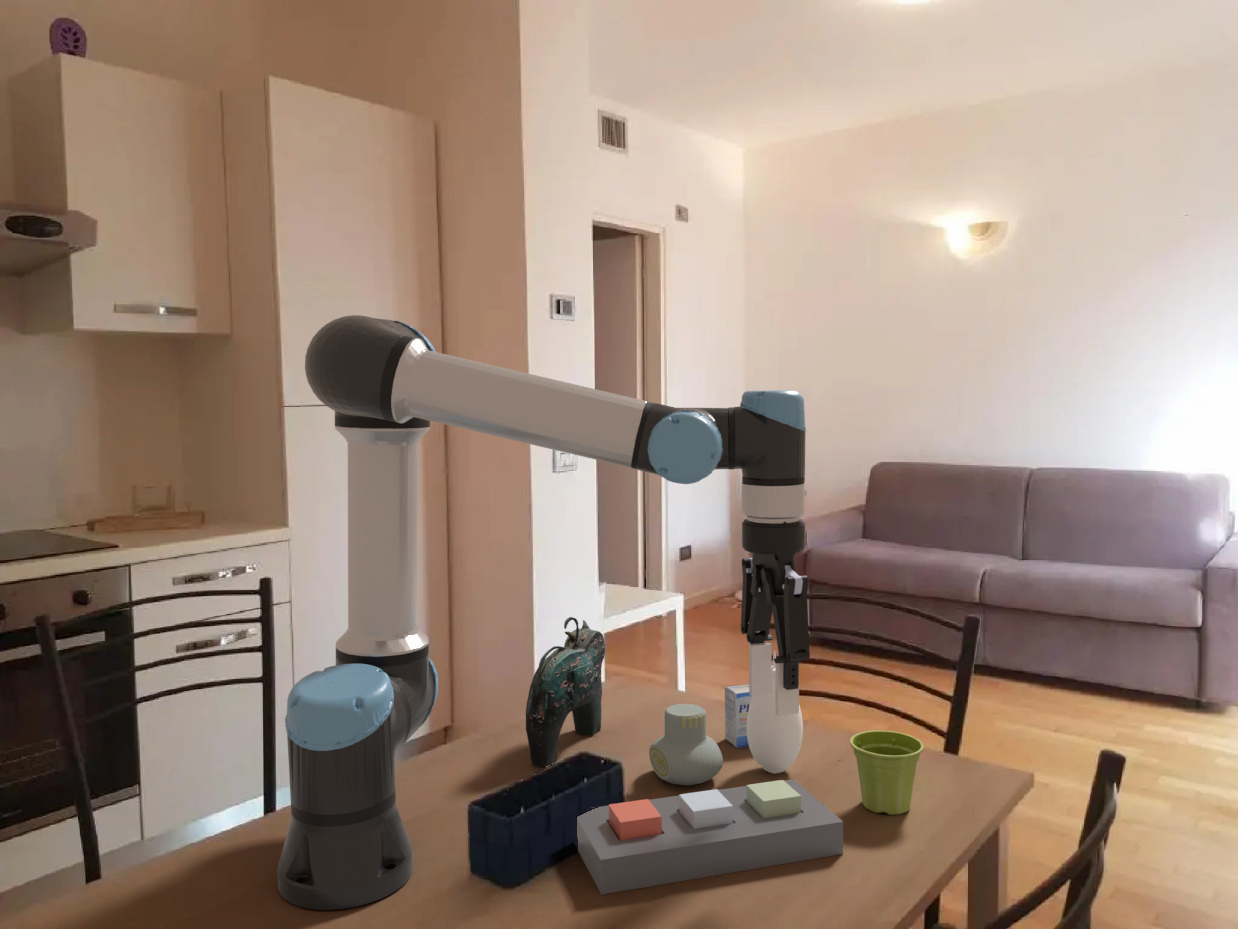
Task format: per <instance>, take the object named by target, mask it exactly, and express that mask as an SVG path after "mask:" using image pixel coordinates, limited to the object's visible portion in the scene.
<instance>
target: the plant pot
mask: <svg viewBox="0 0 1238 929" xmlns="http://www.w3.org/2000/svg"><path fill="white" fill-rule="evenodd" d="M849 745H850V747H851V748H852V749H853V754H854V756H855V758H856V764H857V765H856V766H857V770H858V777H859V785H860V793H861V800H862V802H861V803H862V805H863V806H864V807H865V809H867V810H868V811H871V812H874V813H877V814H880V813H886V814H888V815H901V814H904V813H906V812H908V811H909V810H910V808H911V803H912V797H913V791H914V783H915V776H916V770H917V764H918V762H919V761H920V760H919V759H920V755H921V753H922V752H923V751H924V747H925V746H924V743H923V742H922V741H921V740H920V739H918V738H917V737H914V736H912V735H910V734H906V733H903V732H900V731H899V732H898V731H893V730H868V731H867V730H866V731H863V732H858V733H856V734H854V735H852V736H851V737H850V739H849Z"/></svg>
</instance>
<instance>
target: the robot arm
mask: <svg viewBox="0 0 1238 929" xmlns="http://www.w3.org/2000/svg"><path fill="white" fill-rule="evenodd" d="M305 353H306V354H305V356H304V371H305V376H306V379H307V380H306V381H307V383H308V386H309V387H310V390H311V391H312V393H313V394H314V395H315V396H316V398H317V399H318V400H319V401H320V402H322V404H324V406H326V407H327V408H329V409H331V410H333V411H334V428H335V430H336V431H337V432H338V433H339V434H340V435H341V436H342V437H343V438H344V439H345V440H346V442H347V617H348V618H347V626H348V627H347V630H346V631H345V632H343V634H342V635H341V636H340V637H339V638H338V639H337V640H336V642H335V665H332V666H331V665H330V666H327V667H325V668H324V669H323V670H315V671H313V672H311V673H308V675H306V676H304V677H302V678H301V679H300V680H299V681H297V682H296V683H295V684H294V685H293V686H292V688H291V690H290V691H289V693H288V696H287V699H286V715H285V719H284V720H285V721H284V722H285V723H284V724H285V730H286V739H287V741H286V742H287V753H288V754H287V757H288V759H287V760H288V775H289V794H290V795H289V796H290V798H289V799H290V814H291V816H290V817H291V818H290V822H289V825H288V826H289V827H288V830H287V833H286V836H285V841H284V843H283V847H282V849H281V853H280V856H279V861H278V864H277V871H276V872H277V889H278V893H279V895H280V896H281V897H282V898H283V899H284V901H286V902H288V903H289V904H292V905H294V906H296V907H299V908H303V909H310V910H315V911H316V910H318V911H319V910H321V911H331V910H332V911H333V910H335V911H336V910H344V909H345V910H346V909H351V908H355V907H359V906H364V905H367V904H371V903H373V902H376V901H379V900H381V899H384V898H386V897H388V896H389V895H391V894H393V893H396V891H398V890H399V889H401V888H402V887H403V886H404V885H405V884H406V883H407V882H408V881H409V879H410V878H411V876H412V874H413V872H414V850H413V845H412V842H411V839H410V837H409V834H408V832H407V829H406V827H405V823H404V822H403V819H402V816H401V814H400V811H399V809H398V806H397V797H396V766H395V764H396V762H395V757H396V756H395V755H396V754H397V752H398V751H399V750H400V749H401V748H402V747H403V746H404V745H405V744H406V743H407V742H408V741H409V739H410V738H412V736H413V735H414V734H415V733H416V732H417V731H418V730H419V728H421V727H422V726H423V725H424V724H425V722H426V721H427V719H428V718H429V716H430V715H431V712H432V711H433V707H434V706H435V703H436V701H437V697H438V694H439V677H438V676H439V674H438V672H437V669H436V666H435V664H434V662H433V660H432V659H430V652H429V651H430V650H429V649H430V641H429V637H428V636H427V635H426V634H425V633H424V632H423V631H422V630H421V629H420V628H419V627H418V495H419V494H418V493H419V492H418V491H419V490H418V488H419V487H418V485H419V484H418V478H419V477H418V472H419V470H418V468H419V467H418V462H419V461H418V460H419V458H418V457H419V455H418V453H419V445H418V444H419V442H420V440H421V439H422V438H423V437H424V436H425V435H426V434H427V433H428V431H430V430H431V422H433V423H437V424H442V425H446V426H451V427H455V428H459V429H463V430H468V431H472V432H477V433H481V434H485V435H489V436H494V437H497V438H498V437H499V438H502V439H507V440H510V441H514V442H518V443H519V442H520V443H524V444H528V445H532V446H535V447H541V448H545V449H548V450H553V451H558V452H562V453H566V454H570V455H575V456H579V457H583V458H587V459H592V460H596V461H600V462H604V463H609V464H612V465H617V466H622V467H625V468H630V469H633V470H637V471H640V472H645V473H649V474H653V475H658V476H660V477H662V478H664V479H665V480H666V481H667V482H669V483H670V482H671V483H675V484H681V485H692V484H695V483H699V482H700V481H702V480H703V479H705V478H707V477H708V476H710V475H711V474H712V473H713V472H714V471H715V470H741V475H742V476H741V514H742V515H743V516H744V517H746V518H745V519H744V520H743V521H742V522H741V546H742V548H743V549H744V551H745V552H749V553H751V554H752V557H745V558H742V559H741V569H742V570H741V571H742V588H741V591H742V592H741V614H740V632H741V634H742V635H746V641H747V642H748V643H749V645H748V646H749V647H748V650H749V651H748V652H749V653H748V654H749V657H748V658H749V660H748V663H749V664H748V668H749V669H748V670H749V671H748V673H749V676H748V678H749V680H748V681H749V682H748V683H749V684H748V685H749V695H751V696H760V695H768V694H772V670H771V666H772V643H771V642H770V641H773V640H774V637H773V636H772V634H770V630H771V629H770V628H771V622H772V620H773V624H774V630H775V631H774V632H775V639H776V643H777V644H776V645H777V652H778V657H776V658H775V659H774V662H775V714H776V715H778V716H782V715H790V714H798V713H799V705H800V662H802V661H807V660H810V655H811V654H810V635H809V634H810V631H809V616H808V615H809V614H808V613H809V612H808V590H809V578H808V575H806V574H805V575H799V574H798V573H797V570H796V569H797V568H796V564H795V558H794V556H795V555H796V554H797V553H801V552H802V551H804V550H805V548H806V523H805V522H804V520H803V519H801V518H802V516H804V515H805V506H806V504H805V497H806V496H807V494H808V493H807V490H806V489H805V487H806V486H805V483H806V477H805V476H806V433H807V432H806V431H807V428H806V419H805V418H806V417H805V415H806V414H805V399H804V397H803V396H802V394H801V393H800V392H798V391H796V390H791V389H790V390H787V389H785V390H784V389H783V390H779V389H778V390H747V391H745V392H743V393H742V394H741V395H742V396H741V402H740V404H739V406H734V407H732V406H731V407H674V406H671V405H670V406H669V405H665V404H661V403H656V402H650V401H647V400H644V399H639V398H635V397H630V396H626V395H623V394H622V395H621V394H618V393H613V392H609V391H605V390H600V389H595V388H592V387H588V386H583V385H578V384H575V383H570V382H565V381H561V380H557V379H554V378H549V377H545V376H541V375H536V374H531V373H527V372H523V371H519V370H514V369H510V368H506V367H502V366H497V365H492V364H488V363H484V362H480V361H475V360H471V359H468V358H464V357H463V358H462V357H459V356H455V355H450V354H445V353H441V352H438V351H436V349H435V347H434V346H433V344H432V342H431V341H430V340H429V338H428V337H426V336H425V335H424V334H423V333H422V332H420V331H419V330H417V329H416V328H414V327H413V326H412V325H408V324H407V323H405V322H402V321H399V320H393V319H382V318H375V317H371V316H367V315H358V314H357V315H356V314H355V315H354V314H353V315H345V316H341V317H338V318H335V319H333V320H330V321H329V322H328V323H326V324H325V325H323V326H322V327H321V328H320V329H318V331H316V333H315V334H314V335H313V336H312V338H311V340H310V342H309V345H308V346H307V348H306V352H305ZM772 618H773V619H772Z"/></svg>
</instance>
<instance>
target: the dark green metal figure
mask: <svg viewBox="0 0 1238 929" xmlns="http://www.w3.org/2000/svg"><path fill="white" fill-rule="evenodd" d="M571 621H573V622H574V623H575V625H576V626H575V628H576V629H574V630H572V631H564V633H565V635H567V637H566V639H565V642H564V646H560V645H556V646H555V645H554V646H553V647H551V648H549V649H548V650H547V651H545V653H544V654H542V657H541V658H540V661H539V663H538V667H537V669H536V670H535V673H534V674H533V677H532V678H531V679H532V680H531V683H530V686H529V690H528V697H527V701H526V706H525V731H526V737H527V743H528V746H529V754H530V755H529V756H530V764H531V765H532V766H533V765H534V766H533V767H538V766H539V767H540V768H543V767H546V766H549V765H552V763H554V762H555V763H557V760H558V747H559V740H560V734H561V731H562V729H563V726H564V724H565V720H566V719H567V716H568V715H569V714H570V713H572V719H573V725H574V731H575V733H576V734H578V735H582V736H591V737H593V736H594V735H595V733H596V734H597V732H599V731H601V728H602V696H603V685H602V683H603V682H602V666H603V662H604V659H605V657H606V656H605V655H606V644H605V637H604V634H603V633H602V632H601V631H598V630H595V629H594V630H593V629H591V628H590V626H589V625H588V624H587V622H586V621H585V620H584V619H583V620H582V625H581V626H582V627H581V628H579V621H578V620H577V618H576V617H574V616H573V617H572V616H569V617H568V618H566V619H565V620H564V623H563V628H564V629H565V630H566V629H567V627H568V625H569V622H571ZM555 763H554V764H555ZM552 766H553V765H552ZM539 767H538V768H539Z"/></svg>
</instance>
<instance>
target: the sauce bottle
mask: <svg viewBox="0 0 1238 929" xmlns="http://www.w3.org/2000/svg"><path fill="white" fill-rule="evenodd" d="M775 658H777V654H776V650H775V649H774V650H773V653H772V665H771V670H772V694H768V695H760V696H752V699H751V702H750V705H749V710H748V716H747V739H748V744H749V747H748V748H749V751H750V753H751V755H752V757H753V758H754V761H755V762H756V763H757V765H759V766H760V767H761V768H762V769H763V770H764V771H766V772H768V773H770V774H775V775H777V773H778V774H781V773H783V772H784V771H785V772H786V770H787V769H788V768H789V767H791V766H792V765H793V764H795V761H796V760H797V758H798V757H799V756H798V755H799V753H800V751H801V747H802V745H803V734H804V730H803V729H804V725H803V723H804V722H803V717H802V716H803V714H802V709H801V706H800V704H799V713H798V714H790V715H782V716H778V715H776V714H775V662H774V659H775Z"/></svg>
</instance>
